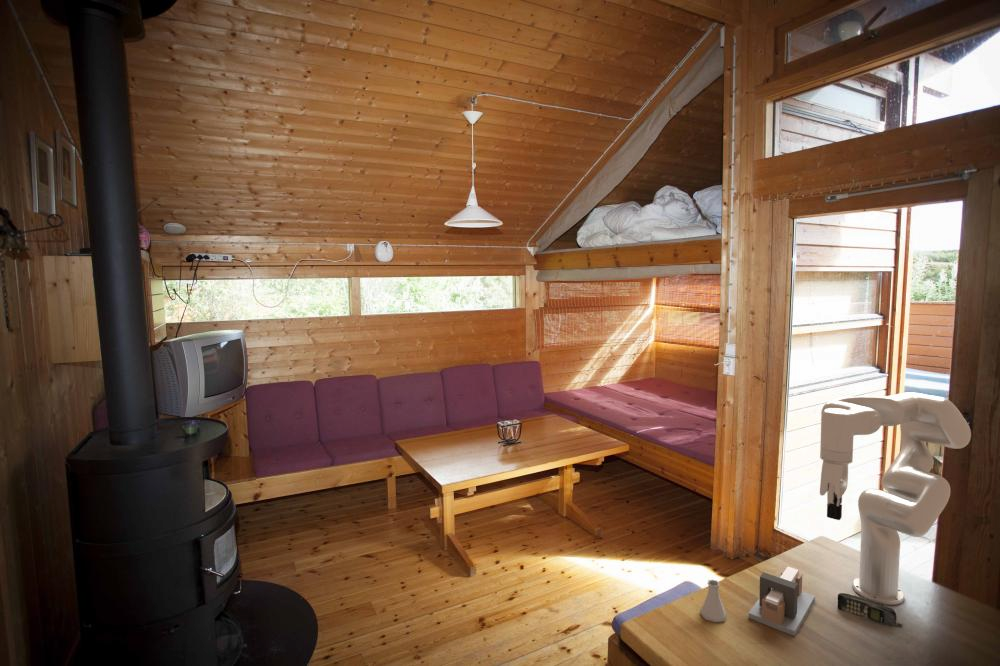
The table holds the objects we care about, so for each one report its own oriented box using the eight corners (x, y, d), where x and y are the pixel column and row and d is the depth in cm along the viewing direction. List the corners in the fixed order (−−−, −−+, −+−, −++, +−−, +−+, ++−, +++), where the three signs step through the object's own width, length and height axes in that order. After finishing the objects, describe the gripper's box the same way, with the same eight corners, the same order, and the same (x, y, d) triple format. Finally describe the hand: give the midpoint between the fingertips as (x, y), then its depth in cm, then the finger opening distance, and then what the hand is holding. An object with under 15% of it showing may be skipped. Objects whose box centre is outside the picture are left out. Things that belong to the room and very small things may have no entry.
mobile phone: (836, 594, 154) (902, 614, 144) (838, 589, 156) (903, 608, 146) (836, 611, 154) (901, 631, 144) (838, 605, 156) (902, 625, 146)
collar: (762, 600, 156) (763, 572, 155) (796, 613, 150) (797, 583, 149) (759, 605, 154) (759, 576, 153) (793, 618, 148) (794, 588, 147)
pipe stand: (771, 585, 167) (771, 560, 166) (814, 600, 158) (815, 574, 157) (748, 617, 152) (748, 590, 151) (794, 636, 144) (795, 608, 143)
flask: (729, 624, 150) (729, 591, 149) (702, 622, 152) (702, 589, 150) (724, 608, 157) (724, 576, 156) (698, 606, 159) (698, 574, 157)
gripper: (827, 443, 154) (825, 504, 156) (813, 459, 143) (811, 523, 146) (858, 449, 149) (855, 511, 151) (846, 465, 138) (843, 532, 141)
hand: (834, 517), depth 148 cm, fingers closed
